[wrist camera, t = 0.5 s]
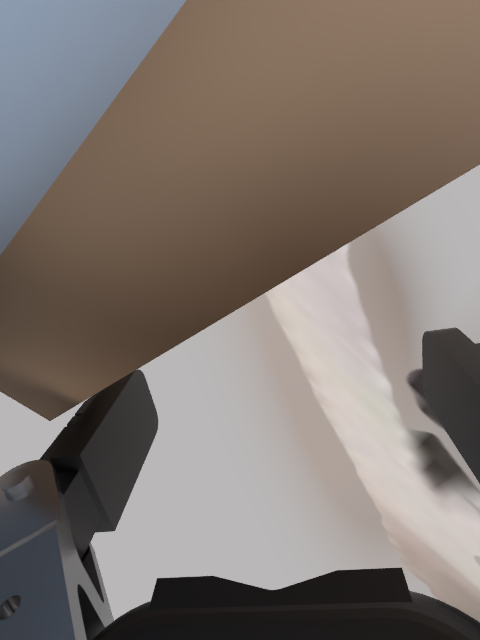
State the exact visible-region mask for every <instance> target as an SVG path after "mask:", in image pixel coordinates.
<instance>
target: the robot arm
mask: <svg viewBox="0 0 480 640" xmlns="http://www.w3.org/2000/svg"><path fill="white" fill-rule="evenodd" d="M422 345H423V346H422V350H423V351H422V356H423V388H424V393H425V397H426V399H427V402H428V404H429V406H430V407H431V409H432V410H433V412H434V413H435V415H436V417H437V418H438V420H439V421H440V423H441V424H442V426H443V427H444V429H445V430H446V432H447V434H448V435H449V437H450V438H451V440H452V441H453V443H454V444H455V446H456V447H457V449H458V451H459V452H460V454H461V455H462V457H463V458H464V460H465V461H466V463H467V465H468V466H469V468H470V469H471V471H472V472H473V474H474V475H475V477H476V478H477V480H478V482H479V483H480V343H479V344H475V343H473V342H472V341H471V340H470V339H469V338H468V337H467V336H466V335H464V334H463V333H462V332H461V331H460V330H459V329H458V328H449V329H441V330H434V331H426V332H425V333H424V335H423V339H422ZM157 429H158V416H157V411H156V408H155V405H154V403H153V400H152V396H151V394H150V391H149V388H148V385H147V382H146V379H145V376H144V374H143V373H142V371H141V370H135V371H133V372H131V373H130V374H128V375H126V376H125V377H123V378H121V379H120V380H118V381H116V382H115V383H113V384H111V385H110V386H108V387H106V388H105V389H103V390H101V391H100V392H98V393H96V394H95V395H93V396H92V397H90V398H89V399H88V400H87V401H85V402H84V403H83V405H82V406H81V407H80V408H79V410H78V411H77V412H76V413H75V416H74V417H72V419H71V420H70V421H69V422H68V424H67V427H65V428H64V429H63V430H62V431H61V433H60V434H59V435H58V437H57V438H56V439H55V440H54V442H53V443H52V444H51V446H50V447H49V448H48V449H47V451H46V452H45V453H44V454H43V456H42V457H41V458H40V460H34V461H30V462H26V463H24V464H21V465H19V466H17V467H15V468H13V469H11V470H9V471H8V472H6V473H5V474H3V475H2V476H1V477H0V640H480V623H479V622H478V621H477V620H475V619H474V618H472V617H470V616H468V615H467V614H465V613H463V612H462V611H460V610H458V609H457V608H454V607H452V606H450V605H448V604H446V603H444V602H442V601H440V600H437V599H434V598H431V597H429V596H426V595H423V594H420V593H416V592H411V591H409V590H408V586H407V583H406V580H405V576H404V574H403V570H402V568H385V569H384V568H383V569H360V570H338V571H334V572H331V573H328V574H325V575H322V576H319V577H316V578H313V579H310V580H307V581H304V582H301V583H297V584H294V585H291V586H288V587H285V588H282V589H278V590H267V589H263V588H258V587H255V586H251V585H246V584H243V583H238V582H235V581H231V580H227V579H223V578H219V577H215V576H203V577H179V578H157V581H156V585H155V589H154V592H153V596H152V600H151V601H150V602H147V603H145V604H143V605H140V606H138V607H136V608H134V609H132V610H130V611H129V612H127V613H125V614H124V615H122V616H120V617H119V618H117V619H116V620H115V621H114V619H113V616H112V612H111V609H110V605H109V602H108V598H107V595H106V591H105V587H104V584H103V580H102V577H101V573H100V569H99V566H98V562H97V559H96V555H95V551H94V549H93V547H92V545H91V543H90V542H91V540H92V537H93V535H94V533H95V532H108V531H115V529H116V527H117V524H118V522H119V520H120V517H121V515H122V513H123V510H124V508H125V505H126V503H127V501H128V499H129V496H130V494H131V492H132V489H133V487H134V484H135V482H136V480H137V478H138V475H139V473H140V470H141V468H142V466H143V464H144V461H145V459H146V457H147V454H148V452H149V450H150V447H151V445H152V442H153V440H154V438H155V435H156V433H157Z"/></svg>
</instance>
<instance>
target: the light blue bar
mask: <svg viewBox="0 0 480 640" xmlns="http://www.w3.org/2000/svg"><path fill="white" fill-rule="evenodd" d="M185 1H186V0H0V255H1V254H2V252H3V251H4V250H5V248H6V247H7V246H8V244H9V243H10V241H11V240H12V239H13V237H14V236H15V235H16V233H17V232H18V230H19V229H20V228H21V226H22V225H23V224H24V222H25V221H26V220H27V218H28V217H29V215H30V214H31V213H32V211H33V210H34V209H35V207H36V206H37V204H38V203H39V202H40V200H41V199H42V198H43V196H44V195H45V193H46V192H47V191H48V189H49V188H50V187H51V185H52V184H53V182H54V181H55V180H56V178H57V177H58V176H59V174H60V173H61V171H62V170H63V169H64V167H65V166H66V165H67V163H68V162H69V161H70V159H71V158H72V156H73V155H74V154H75V152H76V151H77V150H78V148H79V147H80V145H81V144H82V143H83V141H84V140H85V139H86V137H87V136H88V134H89V133H90V132H91V130H92V129H93V128H94V126H95V125H96V123H97V122H98V121H99V119H100V118H101V117H102V115H103V114H104V113H105V111H106V110H107V108H108V107H109V106H110V104H111V103H112V102H113V100H114V99H115V97H116V96H117V95H118V93H119V92H120V91H121V89H122V88H123V86H124V85H125V84H126V82H127V81H128V80H129V78H130V77H131V75H132V74H133V73H134V71H135V70H136V69H137V67H138V66H139V65H140V63H141V62H142V60H143V59H144V58H145V56H146V55H147V54H148V52H149V51H150V49H151V48H152V47H153V45H154V44H155V43H156V41H157V40H158V38H159V37H160V36H161V34H162V33H163V32H164V30H165V29H166V27H167V26H168V25H169V23H170V22H171V21H172V19H173V18H174V17H175V15H176V14H177V12H178V11H179V10H180V8H181V7H182V6H183V4H184V3H185Z"/></svg>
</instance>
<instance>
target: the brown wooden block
mask: <svg viewBox="0 0 480 640" xmlns="http://www.w3.org/2000/svg"><path fill="white" fill-rule="evenodd" d="M478 165H480V0H186V1H185V3H184V4H183V6H182V7H181V8H180V10H179V11H178V12H177V14H176V15H175V17H174V18H173V19H172V21H171V22H170V23H169V25H168V26H167V27H166V29H165V30H164V32H163V33H162V34H161V36H160V37H159V38H158V40H157V41H156V43H155V44H154V45H153V47H152V48H151V49H150V51H149V52H148V54H147V55H146V56H145V58H144V59H143V60H142V62H141V63H140V65H139V66H138V67H137V69H136V70H135V71H134V73H133V74H132V75H131V77H130V78H129V80H128V81H127V82H126V84H125V85H124V86H123V88H122V89H121V91H120V92H119V93H118V95H117V96H116V97H115V99H114V100H113V102H112V103H111V104H110V106H109V107H108V108H107V110H106V111H105V113H104V114H103V115H102V117H101V118H100V119H99V121H98V122H97V123H96V125H95V126H94V128H93V129H92V130H91V132H90V133H89V134H88V136H87V137H86V139H85V140H84V141H83V143H82V144H81V145H80V147H79V148H78V150H77V151H76V152H75V154H74V155H73V156H72V158H71V159H70V161H69V162H68V163H67V165H66V166H65V167H64V169H63V170H62V171H61V173H60V174H59V176H58V177H57V178H56V180H55V181H54V182H53V184H52V185H51V187H50V188H49V189H48V191H47V192H46V193H45V195H44V196H43V198H42V199H41V200H40V202H39V203H38V204H37V206H36V207H35V209H34V210H33V211H32V213H31V214H30V215H29V217H28V218H27V220H26V221H25V222H24V224H23V225H22V226H21V228H20V229H19V230H18V232H17V233H16V235H15V236H14V237H13V239H12V240H11V241H10V243H9V244H8V246H7V247H6V248H5V250H4V251H3V252H2V254H1V255H0V392H2V393H4V394H6V395H7V396H9V397H11V398H12V399H14V400H16V401H17V402H19V403H21V404H22V405H24V406H26V407H28V408H29V409H31V410H32V411H34V412H36V413H37V414H39V415H41V416H42V417H44V418H46V419H48V420H49V421H51V420H53V419H54V418H56V417H58V416H59V415H61V414H62V413H64V412H66V411H67V410H69V409H71V408H73V407H74V406H76V405H78V404H79V403H81V402H83V401H84V400H86V399H88V398H89V397H91V396H93V395H95V394H96V393H98V392H100V391H101V390H103V389H105V388H106V387H108V386H110V385H111V384H113V383H115V382H116V381H118V380H120V379H121V378H123V377H125V376H126V375H128V374H130V373H131V372H133V371H135V370H136V369H138V368H140V367H141V366H143V365H145V364H146V363H148V362H150V361H151V360H153V359H155V358H156V357H158V356H160V355H161V354H163V353H165V352H167V351H168V350H170V349H172V348H173V347H175V346H176V345H178V344H180V343H181V342H183V341H185V340H187V339H188V338H190V337H191V336H193V335H195V334H197V333H198V332H200V331H201V330H203V329H205V328H207V327H208V326H210V325H212V324H213V323H215V322H217V321H218V320H220V319H221V318H223V317H225V316H227V315H228V314H230V313H232V312H233V311H235V310H237V309H239V308H240V307H242V306H243V305H245V304H247V303H248V302H250V301H252V300H254V299H255V298H257V297H259V296H260V295H262V294H264V293H265V292H267V291H269V290H270V289H272V288H274V287H275V286H277V285H279V284H280V283H282V282H284V281H285V280H287V279H289V278H290V277H292V276H294V275H295V274H297V273H299V272H300V271H302V270H304V269H305V268H307V267H309V266H311V265H312V264H314V263H316V262H317V261H319V260H321V259H322V258H324V257H326V256H327V255H329V254H331V253H332V252H334V251H336V250H337V249H339V248H341V247H342V246H344V245H346V244H347V243H349V242H351V241H352V240H354V239H356V238H357V237H359V236H361V235H362V234H364V233H366V232H367V231H369V230H371V229H372V228H374V227H376V226H377V225H379V224H381V223H383V222H384V221H386V220H388V219H389V218H391V217H393V216H394V215H396V214H398V213H399V212H401V211H403V210H404V209H406V208H408V207H409V206H411V205H413V204H414V203H416V202H418V201H419V200H421V199H423V198H424V197H426V196H428V195H429V194H431V193H433V192H434V191H436V190H437V189H439V188H441V187H443V186H444V185H446V184H448V183H449V182H451V181H453V180H455V179H456V178H458V177H460V176H461V175H463V174H464V173H466V172H468V171H470V170H471V169H473V168H475V167H476V166H478Z"/></svg>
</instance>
